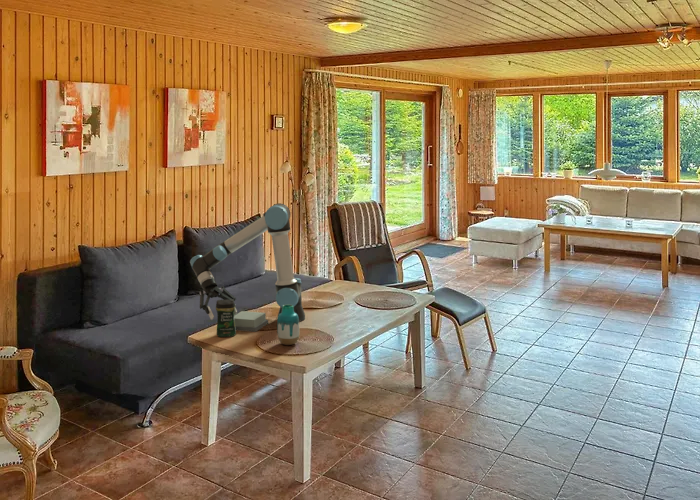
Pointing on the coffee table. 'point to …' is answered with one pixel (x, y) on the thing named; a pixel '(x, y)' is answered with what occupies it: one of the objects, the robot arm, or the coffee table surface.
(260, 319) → the podium
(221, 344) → the coffee table surface
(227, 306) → the coffee jar
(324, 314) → the coffee table surface
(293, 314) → the vase
